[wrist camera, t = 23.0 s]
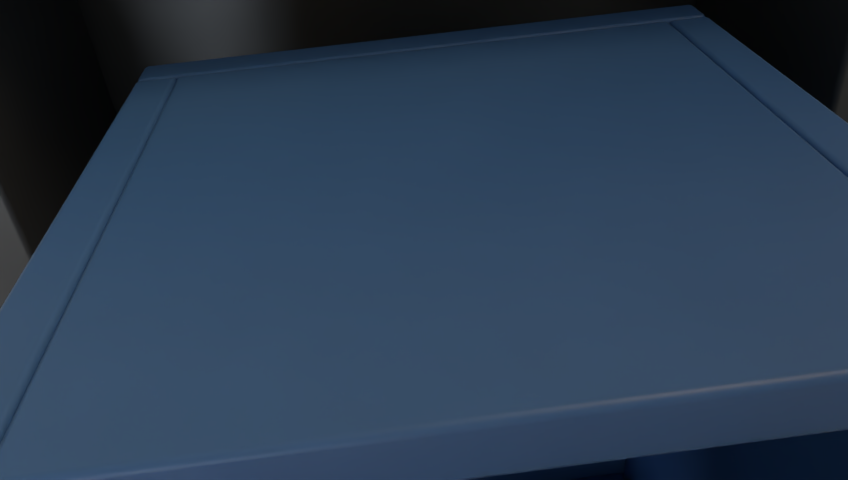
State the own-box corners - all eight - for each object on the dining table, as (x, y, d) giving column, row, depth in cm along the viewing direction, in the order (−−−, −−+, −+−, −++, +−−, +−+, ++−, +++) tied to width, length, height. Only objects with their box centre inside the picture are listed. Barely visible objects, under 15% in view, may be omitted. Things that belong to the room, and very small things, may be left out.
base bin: (-32, -221, 11) (-272, -199, 7) (758, -301, 12) (1014, -332, 7) (217, 466, 20) (182, 671, 15) (664, 407, 20) (754, 590, 16)
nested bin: (144, 64, 9) (-122, 501, 4) (692, 1, 10) (1139, 337, 4) (281, 511, 14) (245, 970, 9) (638, 464, 15) (812, 885, 9)
